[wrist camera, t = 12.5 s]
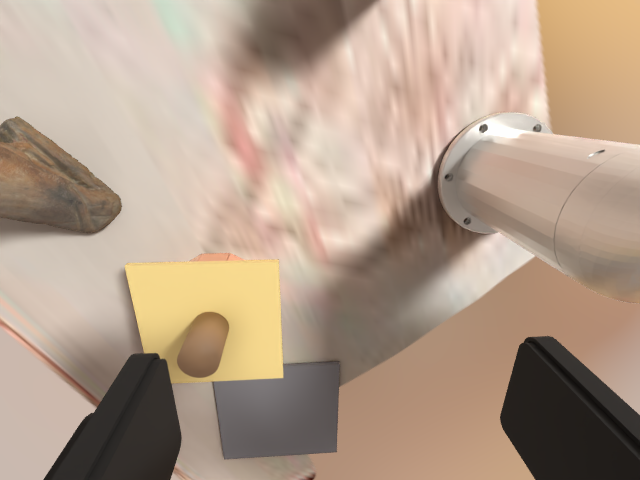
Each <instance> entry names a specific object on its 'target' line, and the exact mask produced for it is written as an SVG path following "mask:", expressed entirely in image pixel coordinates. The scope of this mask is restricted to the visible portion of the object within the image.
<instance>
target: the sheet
mask: <svg viewBox="0 0 640 480" xmlns="http://www.w3.org/2000/svg"><path fill="white" fill-rule="evenodd" d="M125 270H126V275H127V279H128V284H129V288H130V293H131V297H132V302H133V306H134V310H135V315H136V319H137V324H138V328H139V333H140V337H141V342H142V346H143V350H144V353H158V355H159V356H160V359H166V361H167V364H168V369H169V375H170V380H171V383H191V382H212V381H232V380H253V379H273V378H283V352H282V328H281V304H280V280H279V259H277V260H236V261H196V262H155V263H127V264H126V265H125Z"/></svg>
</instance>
